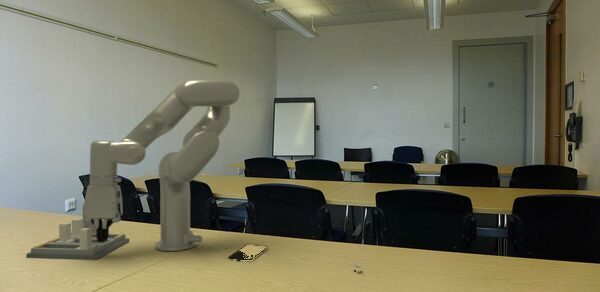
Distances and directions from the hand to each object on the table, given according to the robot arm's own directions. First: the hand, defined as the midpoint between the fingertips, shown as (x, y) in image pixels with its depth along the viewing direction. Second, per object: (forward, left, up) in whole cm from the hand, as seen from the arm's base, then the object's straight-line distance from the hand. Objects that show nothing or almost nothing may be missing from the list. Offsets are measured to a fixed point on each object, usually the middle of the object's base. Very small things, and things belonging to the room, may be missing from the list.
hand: (102, 240), depth 123 cm
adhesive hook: (-78, +6, -6) cm, 79 cm away
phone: (-44, -7, -6) cm, 45 cm away
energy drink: (+18, -24, -5) cm, 30 cm away
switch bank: (+11, -7, -5) cm, 14 cm away
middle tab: (+17, -7, -4) cm, 18 cm away
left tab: (+6, 0, -4) cm, 7 cm away
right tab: (+17, -13, -4) cm, 22 cm away
